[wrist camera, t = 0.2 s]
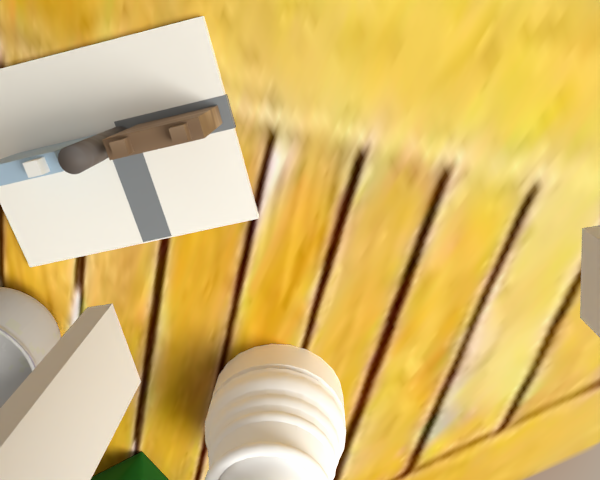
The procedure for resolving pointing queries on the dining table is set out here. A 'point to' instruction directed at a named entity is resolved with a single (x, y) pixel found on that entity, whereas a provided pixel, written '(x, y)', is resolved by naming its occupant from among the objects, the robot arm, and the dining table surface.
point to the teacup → (22, 338)
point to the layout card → (127, 170)
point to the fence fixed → (139, 139)
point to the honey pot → (275, 417)
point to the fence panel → (33, 163)
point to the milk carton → (132, 470)
